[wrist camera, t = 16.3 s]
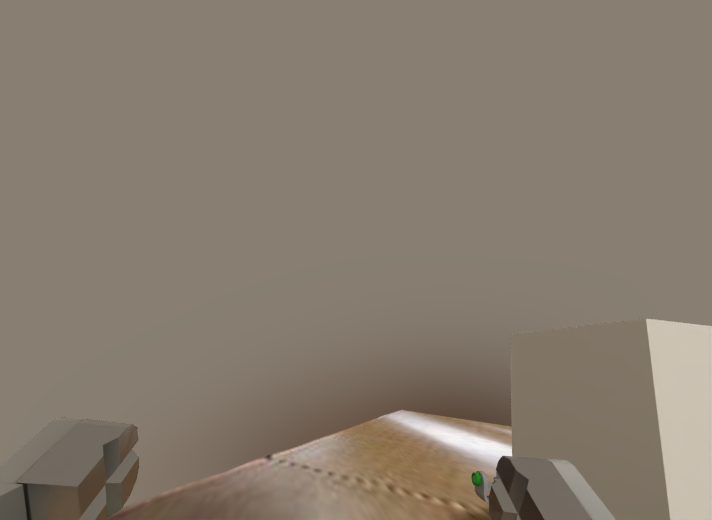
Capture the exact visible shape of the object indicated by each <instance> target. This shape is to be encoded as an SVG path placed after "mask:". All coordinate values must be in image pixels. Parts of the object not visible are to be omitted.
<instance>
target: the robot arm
mask: <svg viewBox="0 0 712 520" xmlns="http://www.w3.org/2000/svg"><path fill="white" fill-rule="evenodd" d="M137 441H138V429H137V427H136V426H134V425H133V424H125V423H116V422H107V421H98V420H89V419H86V420H83V419H75V418H66V417H61V418H58V419H55V420H53V421H52V422H50V423H49V424H48V425H47V426H46V427H45V428H43V429H42V430H41V431H40V432H39V433H38V434H37V435H35V436H34V437H33V438H32V439H31V440H30V441H28V442H27V443H26V444H25V445H24V446H23V447H22V448H21V449H19V450H18V451H17V452H16V453H15V454H13V455H12V456H11V457H10V458H9V459H8V460H7V461H6V462H4V463H3V464H2V465H1V466H0V520H107V518H108V517H110V516H111V515H113V514H114V513H116V512H117V511H119V510H120V509H121V508H122V507H123V506H124V504H125V502H126V501H127V499H128V498H129V496H130V494H131V492H132V489H133V486H134V484H135V482H136V479H137V474H138V469H139V457H138V456H137V455H136V453H135V452H134V451H133V450H132V448H133V447H134V445H135V444H136V442H137ZM496 471H497V473H498V475H499V477H500V479H498V480H497V481H496V482H495V483H494V484H493V485H491V490H490V494H489V512H490V517H491V520H616V519H615V518H614V517H613V515H612V514H611V513H610V512H609V510H608V509H607V508H606V506H605V505H604V504H603V503H602V501H601V500H600V499H599V497H598V496H597V495H596V493H595V492H594V491H593V490H592V488H591V487H590V486H589V484H588V483H587V482H586V481H585V479H584V478H583V477H582V475H581V474H580V473H579V472H578V470H577V469H576V468H575V466H574V465H573V464H571V463H570V462H569V461H567V460H557V459H537V458H524V457H511V456H502V457H501V459H500V460H499V461H498V465H497V468H496Z"/></svg>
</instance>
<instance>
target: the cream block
mask: <svg viewBox="0 0 712 520" xmlns="http://www.w3.org/2000/svg"><path fill="white" fill-rule="evenodd" d="M510 356H511V407H512V457H524V458H537V459H557V460H567V461H569V462H570V463H571V464H573V465H574V466H575V468H576V469H577V470H578V472H579V473H580V474H581V475H582V477H583V478H584V479H585V481H586V482H587V483H588V484H589V486H590V487H591V488H592V490H593V491H594V492H595V493H596V495H597V496H598V497H599V499H600V500H601V501H602V503H603V504H604V505H605V506H606V508H607V509H608V510H609V512H610V513H611V514H612V515H613V517H614V518H615V519H616V520H712V326H705V325H697V324H688V323H679V322H670V321H662V320H653V319H639V320H630V321H621V322H612V323H604V324H594V325H586V326H577V327H568V328H559V329H550V330H541V331H533V332H523V333H514V334H510Z"/></svg>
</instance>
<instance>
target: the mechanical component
mask: <svg viewBox="0 0 712 520" xmlns="http://www.w3.org/2000/svg"><path fill="white" fill-rule="evenodd" d="M498 479H500V477H499V475H498V473H497V477H494V483H495V482H496V481H497V480H498ZM472 483H473V485H475V491H476V494H477V495H478V496H479V497H480V498H481V499H482V500H484V501H485V502H486V503H487V504H489V496H487V493H486V491H490V490H491V485H493V484H494V483H488V479H487V476H486V474H485V473H484V472H483V471H477V472H476V473H472Z"/></svg>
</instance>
